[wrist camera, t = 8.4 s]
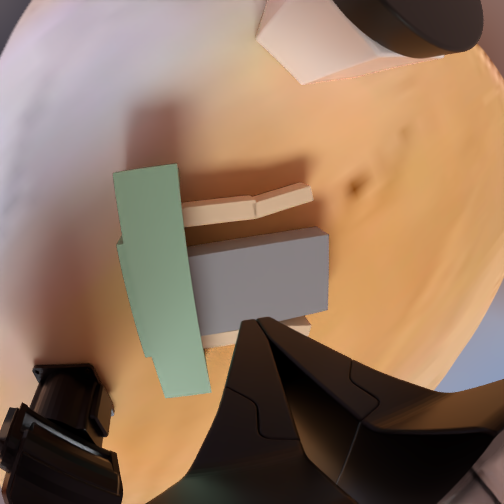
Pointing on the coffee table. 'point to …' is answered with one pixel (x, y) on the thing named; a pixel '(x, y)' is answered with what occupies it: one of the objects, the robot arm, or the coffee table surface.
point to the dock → (178, 267)
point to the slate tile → (259, 278)
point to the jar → (365, 34)
